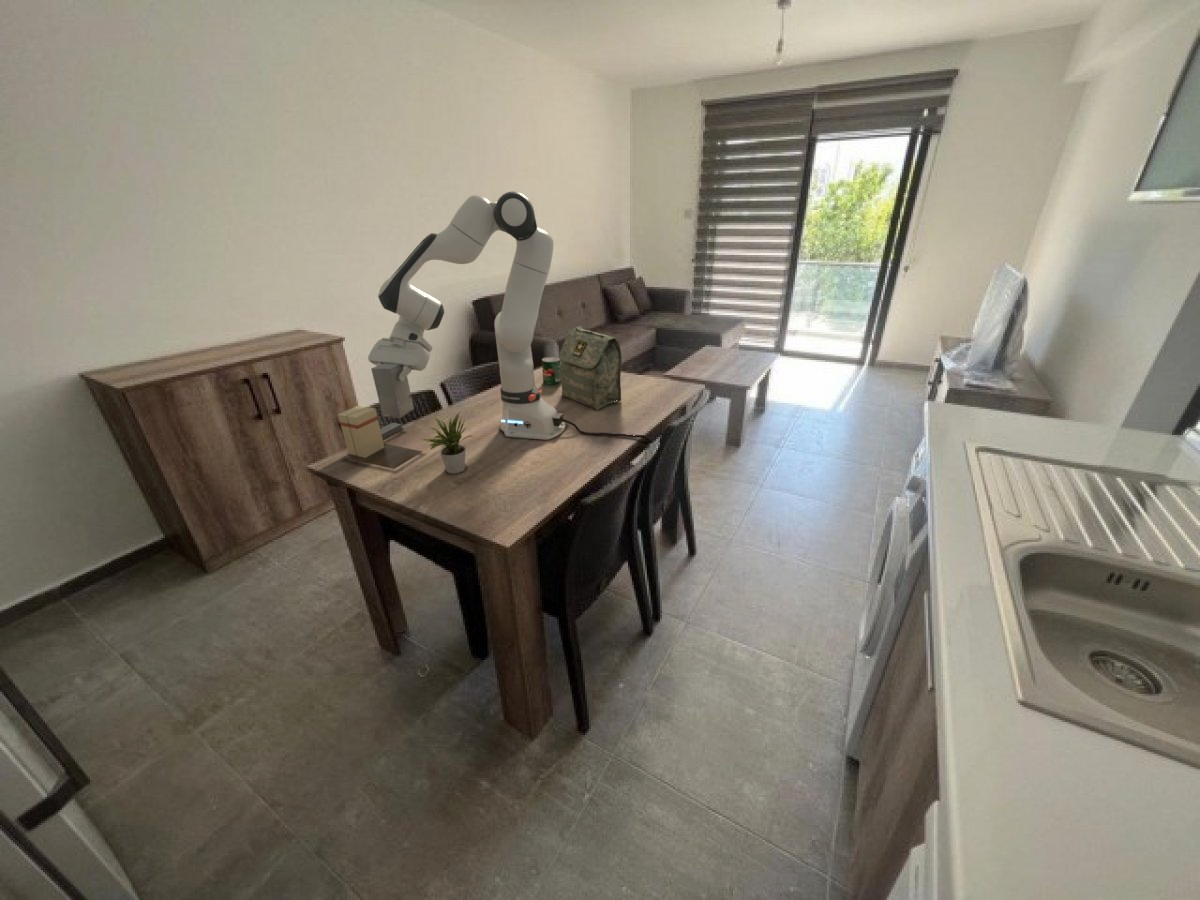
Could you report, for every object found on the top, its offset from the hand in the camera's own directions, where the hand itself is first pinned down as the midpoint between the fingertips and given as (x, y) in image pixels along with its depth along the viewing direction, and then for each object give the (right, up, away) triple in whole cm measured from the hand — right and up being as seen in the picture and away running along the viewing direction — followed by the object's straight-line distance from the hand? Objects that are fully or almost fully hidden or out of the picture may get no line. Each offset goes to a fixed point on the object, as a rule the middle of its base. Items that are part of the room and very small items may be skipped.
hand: (389, 379), depth 146 cm
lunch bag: (+61, -2, +43) cm, 75 cm away
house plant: (+22, -27, -7) cm, 36 cm away
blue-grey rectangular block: (-5, -18, +12) cm, 22 cm away
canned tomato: (+44, +7, +61) cm, 75 cm away
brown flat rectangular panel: (-1, -24, -1) cm, 24 cm away
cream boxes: (-7, -22, 0) cm, 23 cm away
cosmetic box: (0, -10, +6) cm, 12 cm away
